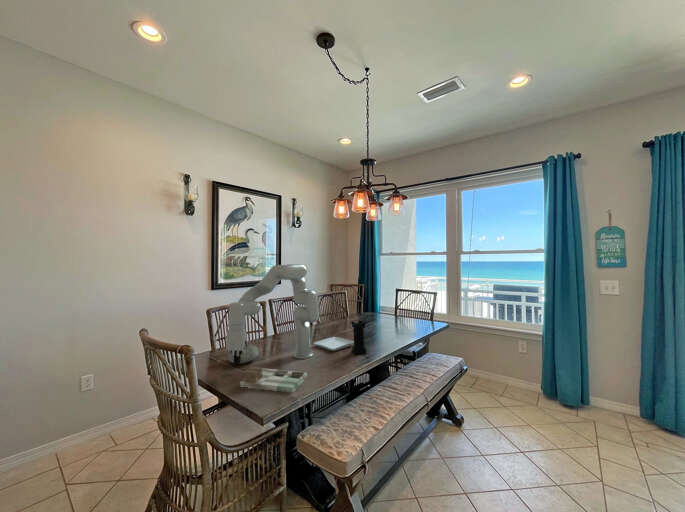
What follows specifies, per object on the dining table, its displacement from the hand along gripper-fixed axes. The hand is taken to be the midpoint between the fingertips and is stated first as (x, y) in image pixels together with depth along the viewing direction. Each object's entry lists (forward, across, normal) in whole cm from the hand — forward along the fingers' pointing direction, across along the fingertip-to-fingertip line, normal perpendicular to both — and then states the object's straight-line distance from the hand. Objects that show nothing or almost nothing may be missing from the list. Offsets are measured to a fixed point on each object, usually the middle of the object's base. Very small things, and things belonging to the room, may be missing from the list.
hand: (237, 363), depth 143 cm
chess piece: (+9, +51, +56) cm, 77 cm away
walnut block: (+7, +9, 0) cm, 12 cm away
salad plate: (+9, +31, +66) cm, 74 cm away
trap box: (+10, +18, +5) cm, 21 cm away
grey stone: (+10, -15, +27) cm, 32 cm away
